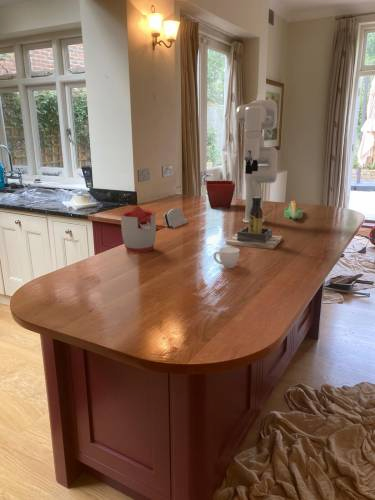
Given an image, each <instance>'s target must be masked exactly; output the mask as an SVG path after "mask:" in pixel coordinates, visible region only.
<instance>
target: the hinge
mask: <svg viewBox="0 0 375 500" xmlns="http://www.w3.org/2000/svg"><path fill="white" fill-rule="evenodd" d="M162 217H163V220H164V221H163V222H164V226H165V228H168V227H172V228H173V229H175V228H177V227H180V226H182V225H184V224H187V223H188V219H187V218H186V217H185V215H184V212H183V209H181V208H172V209H169V210H167V211H166V212H165V213H164V214H163V216H162Z"/></svg>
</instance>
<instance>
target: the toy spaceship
mask: <svg viewBox="0 0 375 500" xmlns="http://www.w3.org/2000/svg"><path fill="white" fill-rule="evenodd" d="M283 210H284V212H283V214H284V218H288V219H290V218H291V219H301V218H302V219H303V209H302V208H301V207H298V203H297V201H295V200H291V201H289V203H288V207H284V209H283Z"/></svg>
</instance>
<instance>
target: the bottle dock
mask: <svg viewBox="0 0 375 500" xmlns="http://www.w3.org/2000/svg"><path fill="white" fill-rule="evenodd" d="M248 231H249V226H246V225H245V226H243V228H241V229H240V230H237V233H235V234H234V235H233V236H231V237H230V238H228V239H227V240H226V241H225V243H226V245H230V246H231V245H232V246H242V247H250V248H260V249H266V250H267V249H268V250H274V249H275V248H276V246H277V245H278V244H280V242H281V241H282V240H283V236H282V235H273V228H269V227H267V228H266V227H262V234H259V233H248Z"/></svg>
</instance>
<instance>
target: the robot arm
mask: <svg viewBox="0 0 375 500" xmlns="http://www.w3.org/2000/svg"><path fill="white" fill-rule="evenodd" d="M235 118H236V121H237V123H238V124H244V146H243V160H244V161H245V166H244V167H245V169H244V179H245V212H244V213H245V216H244V218H242V222H243V223H246V224H249V213H250V210H251V208H252V202H253V200H252V197H254V196H259V197H261V204H260V205H261V206H260V207H261V209H262V210H263V204H264V203H263V201H264V191H263V190H264V189H262V187H261V186H260V184H274V183H275V182H276V181H277V177H278V150H277V148H275V147H273V146H265V138H264V136H263V134H262V130H264V131H265V130H274V129H275V128H276V127H277V125H278V104H277V102H276V100H274V99H256V100H253V101H252V102H249V103H245V104H240V105H239V106H238V107H237V109H236V110H235ZM265 221H266V220H265V218H262V224H264V223H265Z"/></svg>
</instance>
